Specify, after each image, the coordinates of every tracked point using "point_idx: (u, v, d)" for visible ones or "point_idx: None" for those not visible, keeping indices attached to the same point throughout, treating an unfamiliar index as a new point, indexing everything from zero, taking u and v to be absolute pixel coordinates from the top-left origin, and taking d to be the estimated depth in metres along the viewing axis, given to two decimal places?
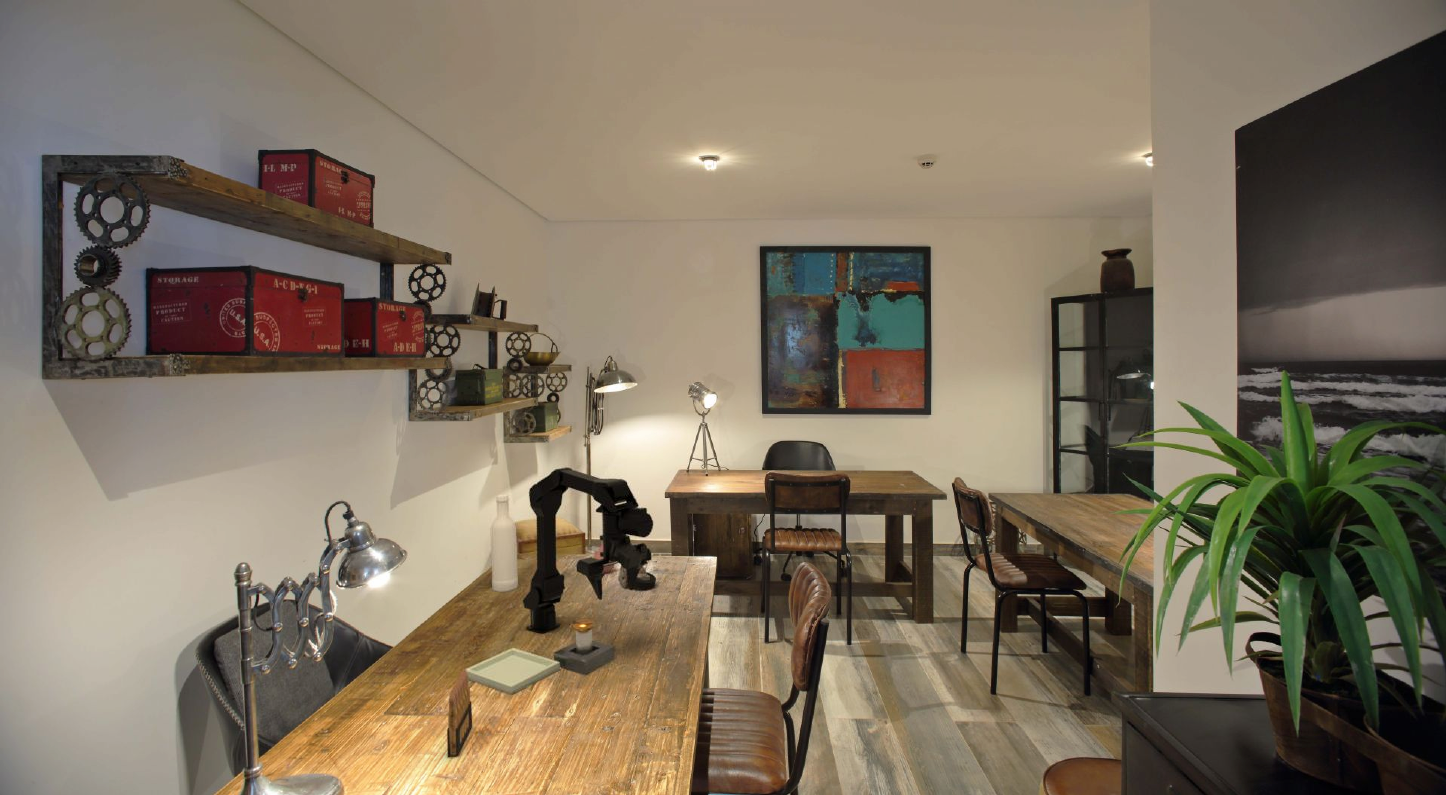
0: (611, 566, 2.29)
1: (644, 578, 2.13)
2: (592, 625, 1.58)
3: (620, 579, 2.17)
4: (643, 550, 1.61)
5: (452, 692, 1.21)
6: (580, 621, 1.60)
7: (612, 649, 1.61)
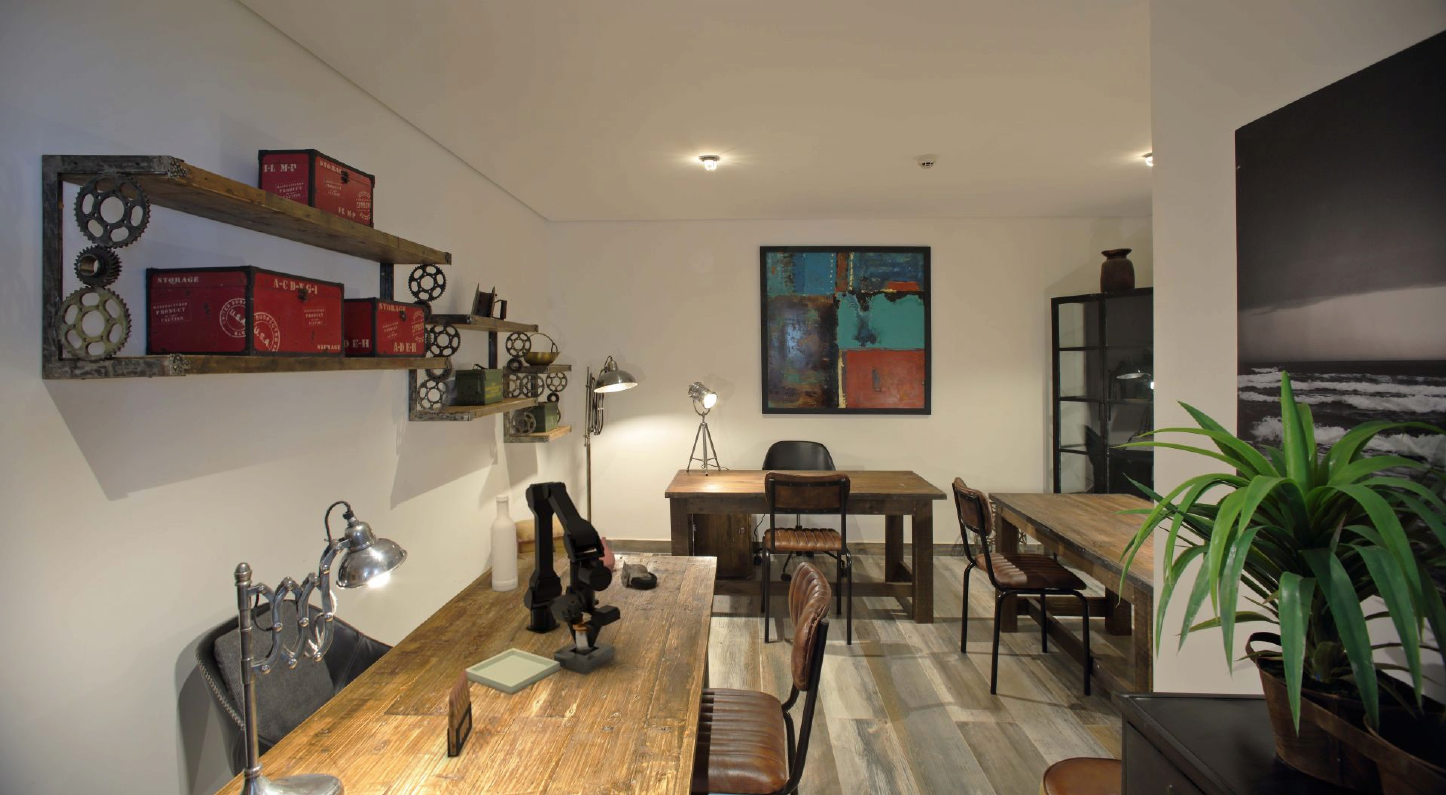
0: (611, 566, 2.29)
1: (645, 578, 2.13)
2: None
3: (622, 578, 2.18)
4: (569, 608, 1.51)
5: (452, 692, 1.21)
6: (580, 621, 1.60)
7: (612, 649, 1.61)
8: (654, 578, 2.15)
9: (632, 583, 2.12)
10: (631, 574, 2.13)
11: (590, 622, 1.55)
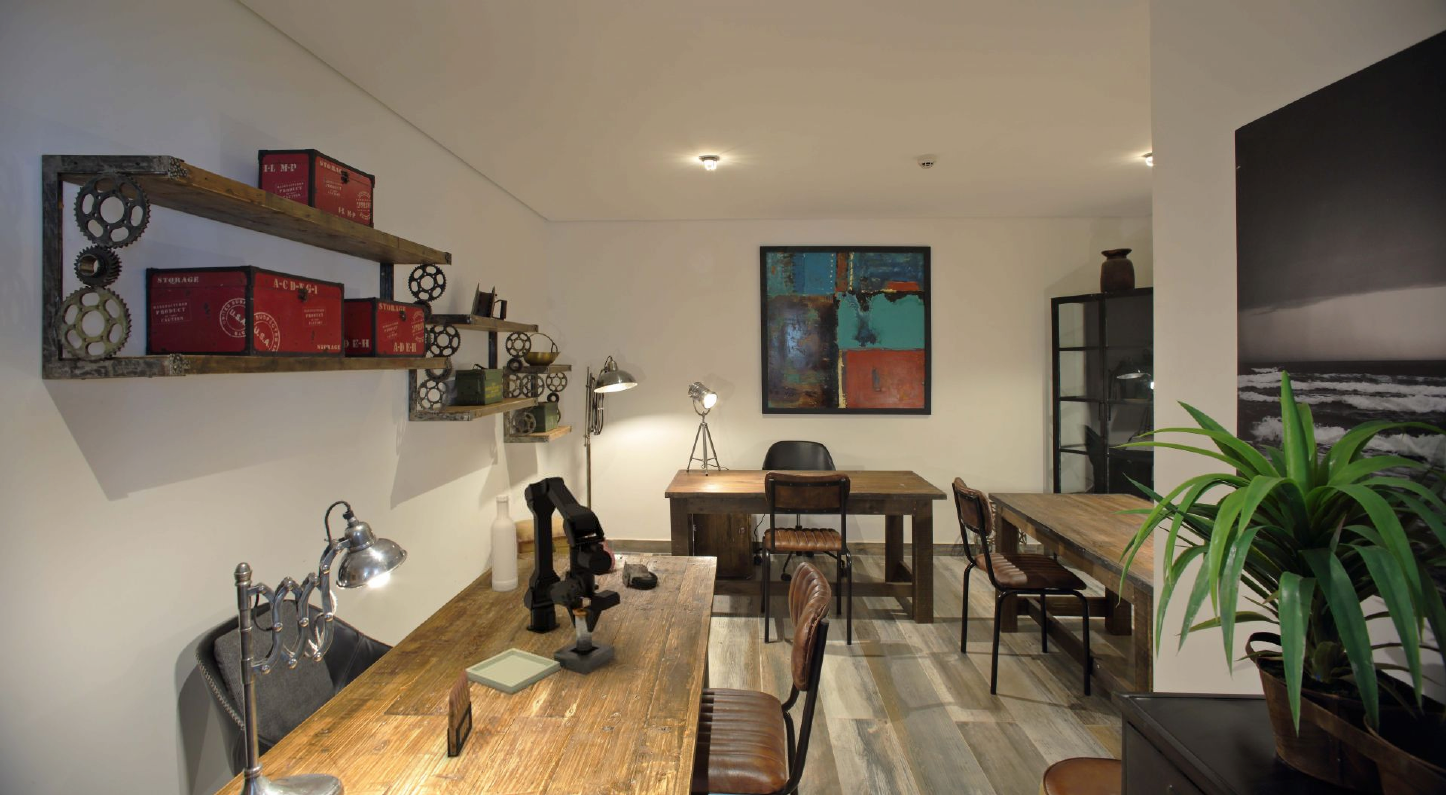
0: (611, 566, 2.29)
1: (646, 578, 2.13)
2: None
3: (623, 577, 2.18)
4: (569, 592, 1.51)
5: (452, 692, 1.21)
6: (580, 607, 1.60)
7: (612, 649, 1.61)
8: (655, 578, 2.15)
9: (632, 583, 2.12)
10: (632, 574, 2.14)
11: (590, 607, 1.55)
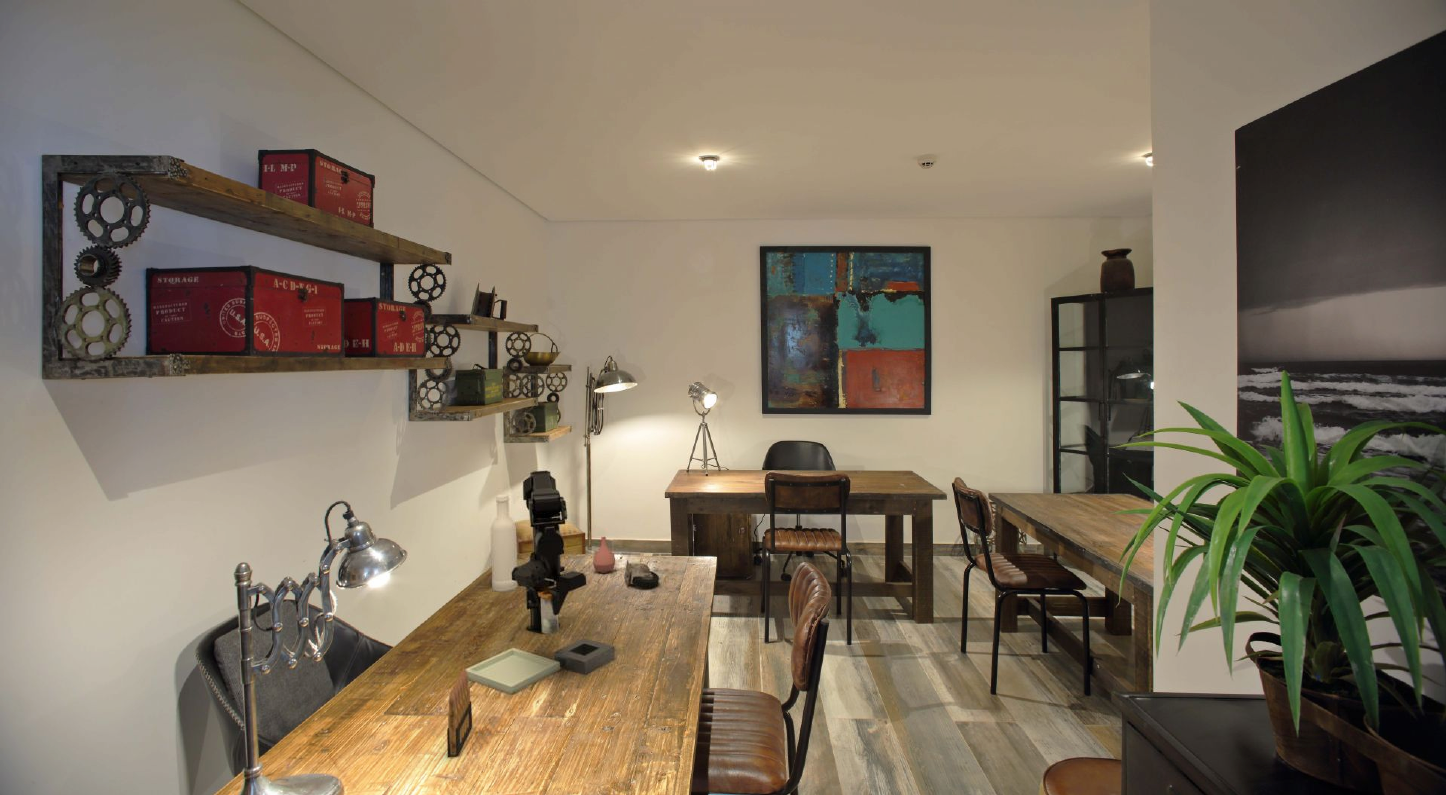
0: (611, 566, 2.29)
1: (646, 577, 2.14)
2: None
3: (625, 577, 2.19)
4: (533, 573, 1.48)
5: (452, 692, 1.21)
6: (545, 589, 1.57)
7: (612, 649, 1.61)
8: (656, 578, 2.15)
9: (633, 582, 2.13)
10: (633, 573, 2.14)
11: (555, 588, 1.52)
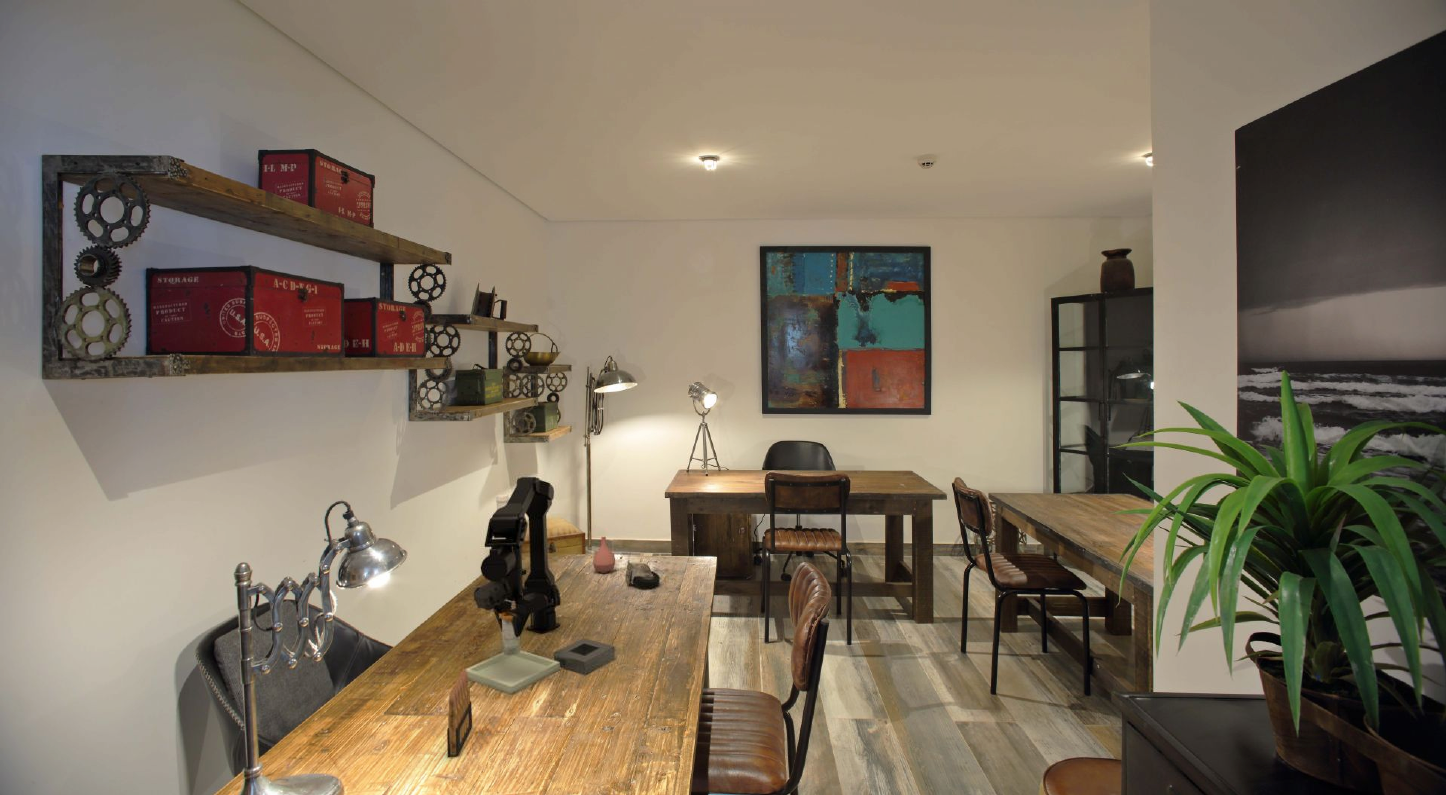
0: (611, 566, 2.29)
1: (647, 577, 2.14)
2: None
3: (626, 576, 2.19)
4: (491, 595, 1.46)
5: (452, 692, 1.21)
6: (507, 610, 1.54)
7: (612, 649, 1.61)
8: (656, 578, 2.15)
9: (634, 582, 2.13)
10: (633, 573, 2.14)
11: (515, 610, 1.50)
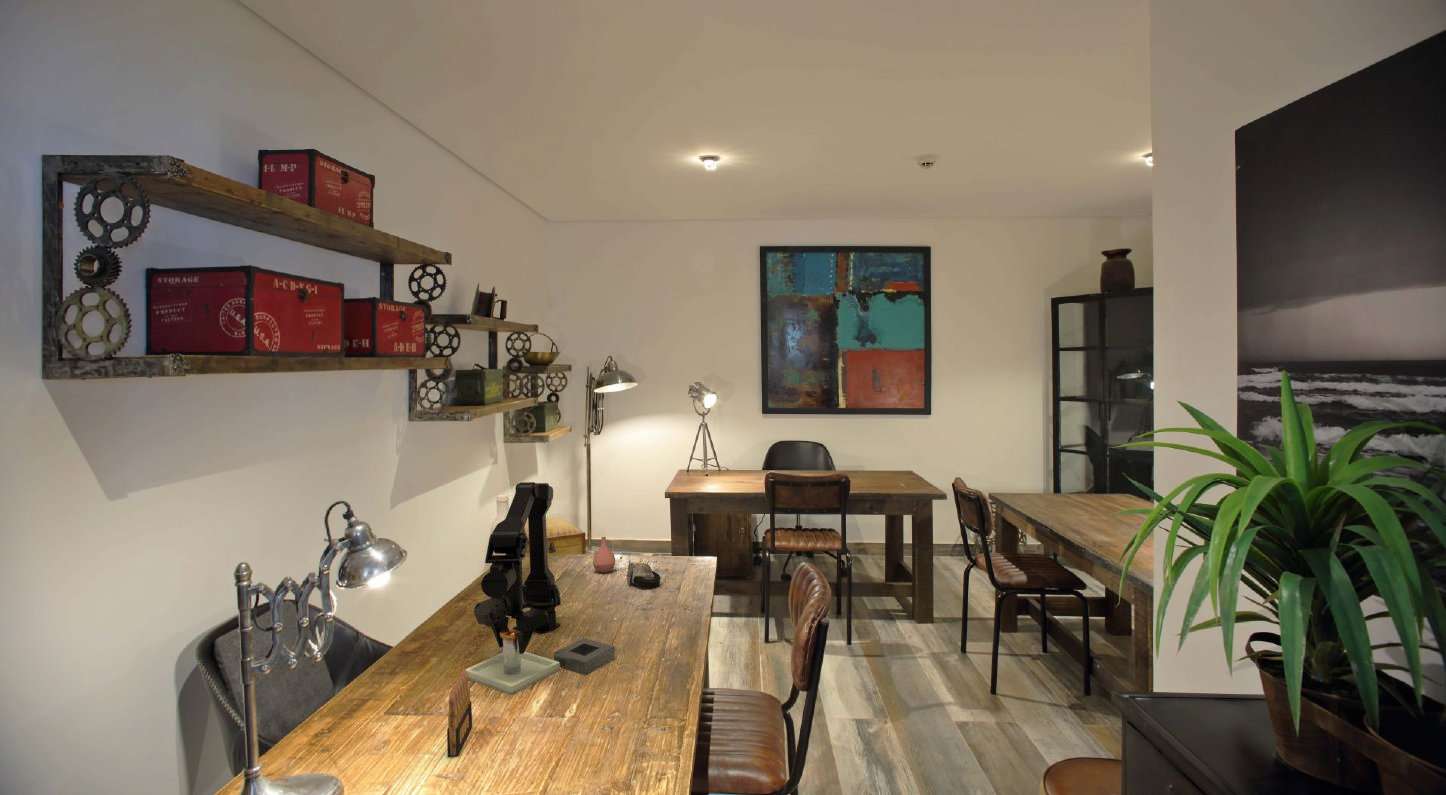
0: (611, 566, 2.29)
1: (648, 577, 2.14)
2: None
3: (627, 576, 2.19)
4: (492, 612, 1.46)
5: (452, 692, 1.21)
6: (508, 629, 1.54)
7: (612, 649, 1.61)
8: (657, 578, 2.15)
9: (634, 582, 2.13)
10: (634, 573, 2.15)
11: None
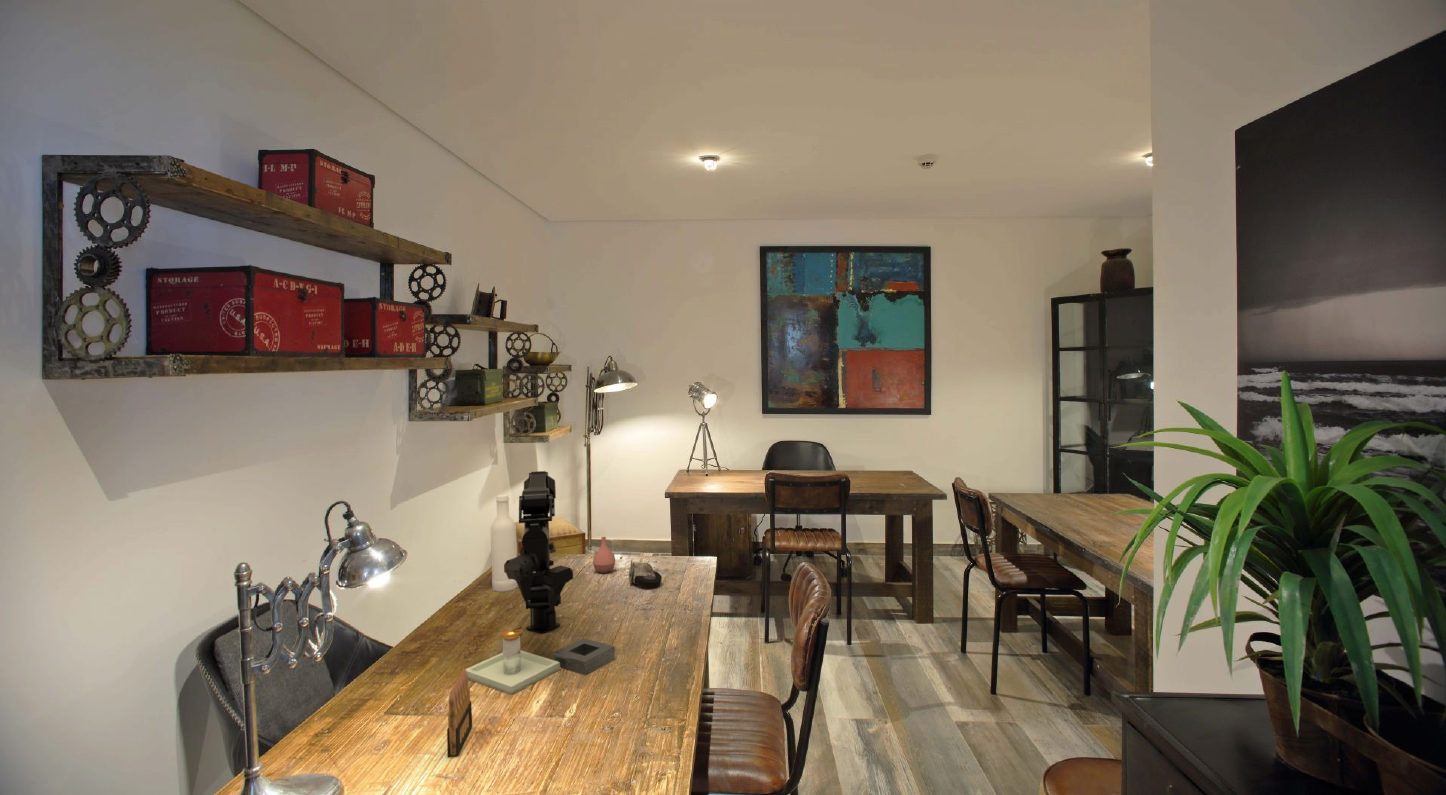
0: (611, 566, 2.29)
1: (649, 577, 2.14)
2: (519, 633, 1.53)
3: (629, 575, 2.20)
4: (521, 567, 1.55)
5: (452, 692, 1.21)
6: (508, 629, 1.54)
7: (612, 649, 1.61)
8: (658, 578, 2.15)
9: (635, 581, 2.14)
10: (635, 572, 2.15)
11: (550, 583, 1.58)
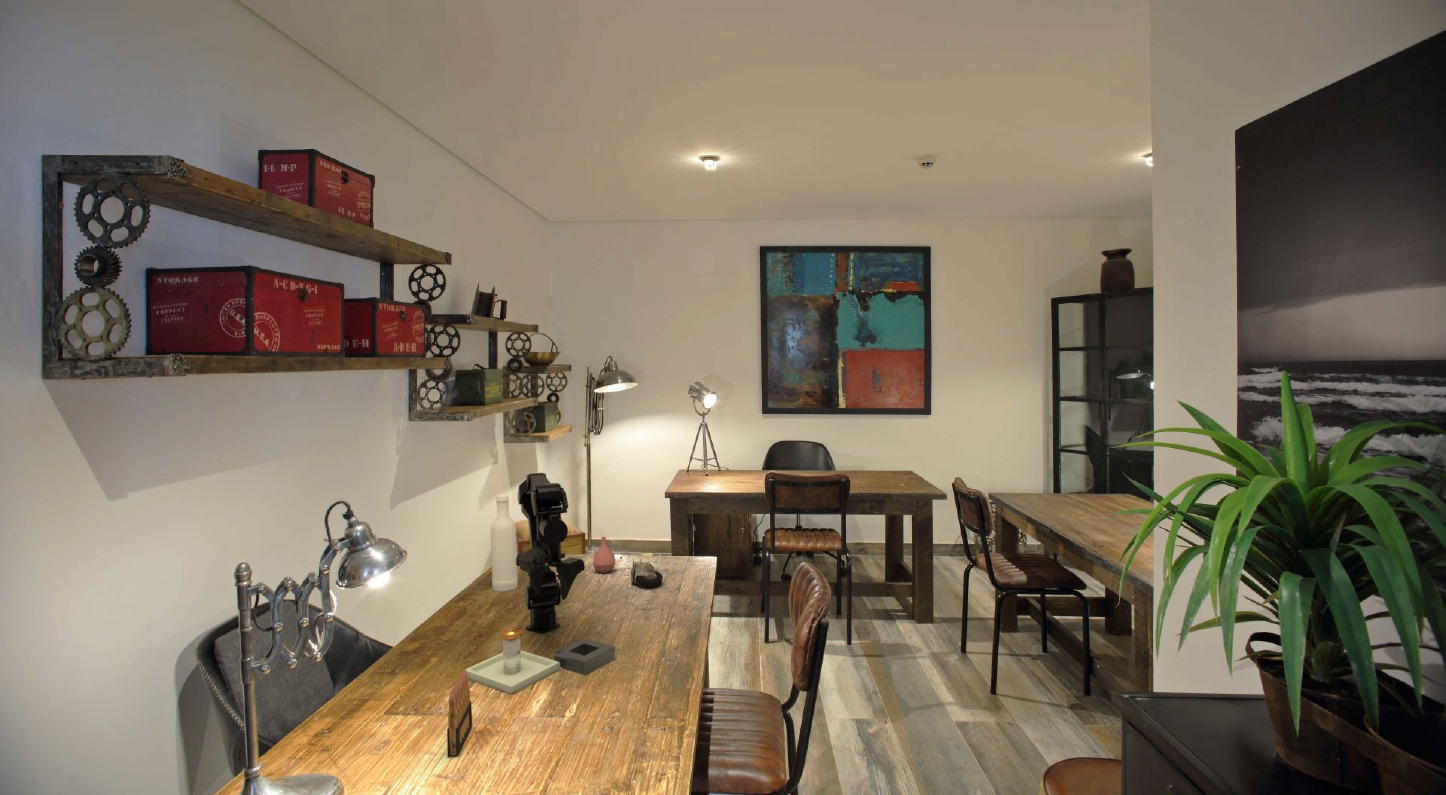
0: (611, 566, 2.29)
1: (649, 577, 2.14)
2: (519, 633, 1.53)
3: (631, 575, 2.20)
4: (535, 559, 1.60)
5: (452, 692, 1.21)
6: (508, 629, 1.54)
7: (612, 649, 1.61)
8: (659, 578, 2.15)
9: (636, 581, 2.14)
10: (636, 572, 2.15)
11: None
